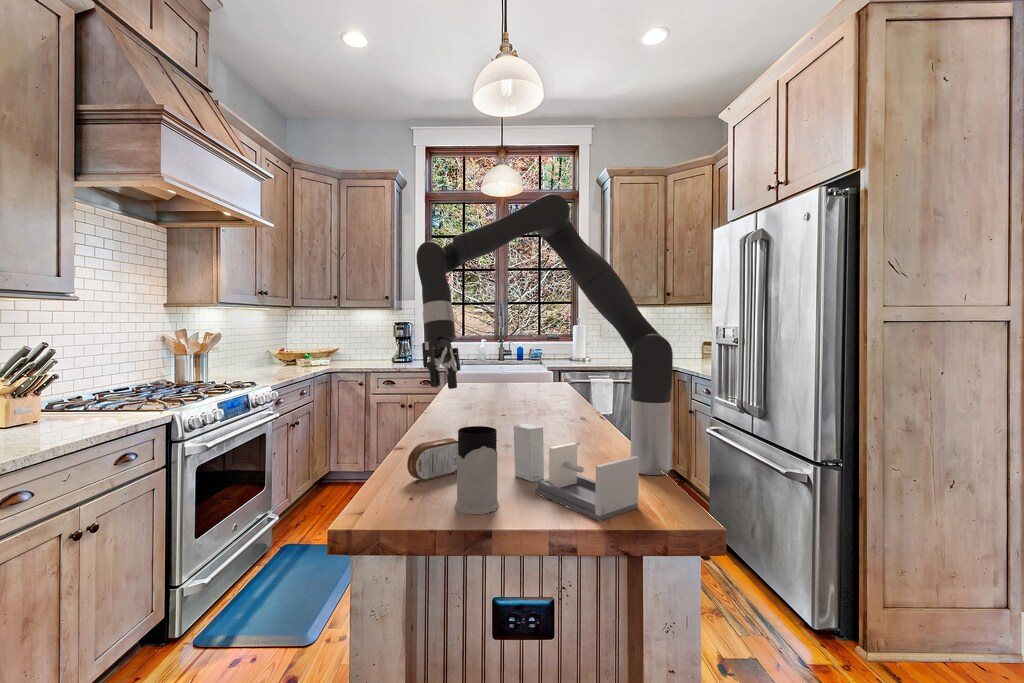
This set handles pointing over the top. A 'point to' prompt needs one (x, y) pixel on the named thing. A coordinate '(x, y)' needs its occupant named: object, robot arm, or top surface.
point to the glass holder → (477, 470)
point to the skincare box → (529, 452)
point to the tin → (433, 459)
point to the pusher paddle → (563, 465)
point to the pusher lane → (599, 490)
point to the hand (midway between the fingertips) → (444, 387)
